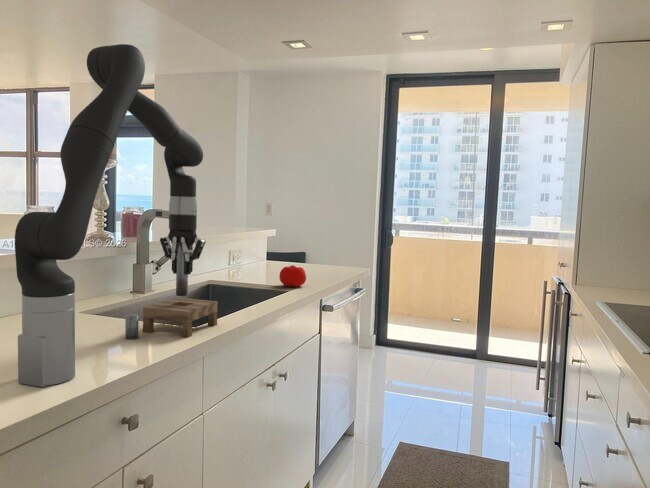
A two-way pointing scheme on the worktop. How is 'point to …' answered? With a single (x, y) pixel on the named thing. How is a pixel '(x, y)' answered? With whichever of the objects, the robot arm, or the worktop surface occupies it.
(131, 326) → the short pin
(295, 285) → the tomato
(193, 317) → the wooden square-hole block
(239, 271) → the worktop surface
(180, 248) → the long pin
